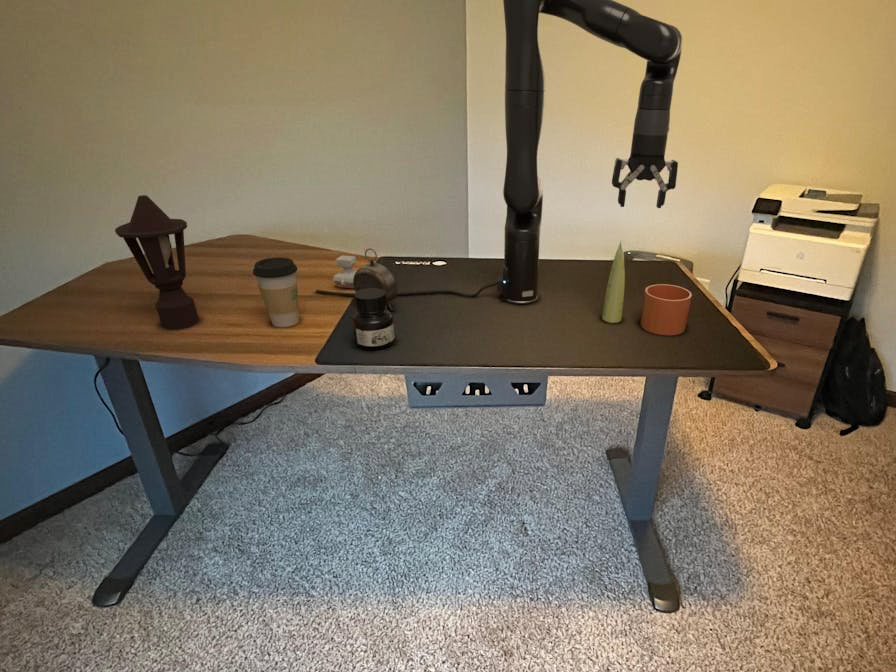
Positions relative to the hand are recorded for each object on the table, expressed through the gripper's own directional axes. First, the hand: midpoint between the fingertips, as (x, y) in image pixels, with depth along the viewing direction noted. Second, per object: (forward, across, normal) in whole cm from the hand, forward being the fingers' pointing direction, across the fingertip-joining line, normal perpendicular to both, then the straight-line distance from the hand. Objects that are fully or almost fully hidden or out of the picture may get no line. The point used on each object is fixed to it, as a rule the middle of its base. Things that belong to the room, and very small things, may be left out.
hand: (640, 206), depth 132 cm
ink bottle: (+29, +60, +20) cm, 69 cm away
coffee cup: (+29, +85, +10) cm, 90 cm away
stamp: (+29, +76, -16) cm, 83 cm away
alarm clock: (+29, +65, 0) cm, 71 cm away
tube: (+28, +4, +2) cm, 28 cm away
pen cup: (+28, -9, +5) cm, 30 cm away
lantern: (+29, +110, +12) cm, 114 cm away
